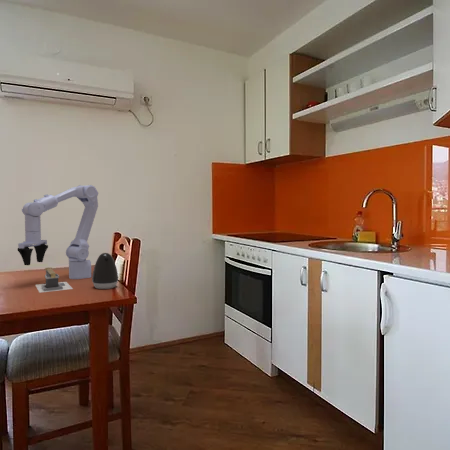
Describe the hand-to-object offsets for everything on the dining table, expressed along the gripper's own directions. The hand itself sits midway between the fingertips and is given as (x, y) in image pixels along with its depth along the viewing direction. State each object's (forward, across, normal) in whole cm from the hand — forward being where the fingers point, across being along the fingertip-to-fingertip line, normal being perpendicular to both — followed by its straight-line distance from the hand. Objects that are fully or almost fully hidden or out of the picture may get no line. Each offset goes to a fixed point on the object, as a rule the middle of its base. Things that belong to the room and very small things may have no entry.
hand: (33, 263), depth 147 cm
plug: (+9, +5, +12) cm, 15 cm away
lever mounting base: (+10, +2, +10) cm, 14 cm away
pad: (+9, -1, +11) cm, 14 cm away
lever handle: (+4, +2, +9) cm, 10 cm away
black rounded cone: (+10, -3, +31) cm, 32 cm away
